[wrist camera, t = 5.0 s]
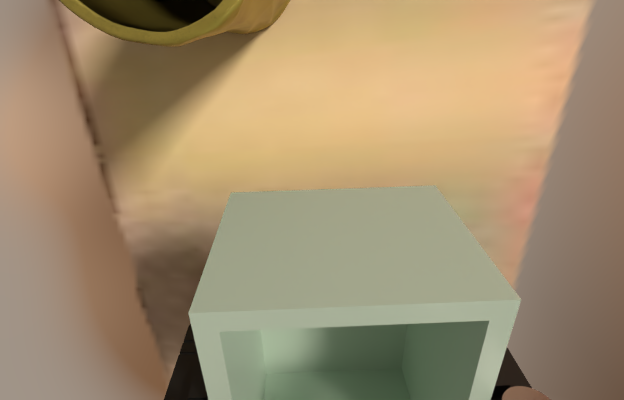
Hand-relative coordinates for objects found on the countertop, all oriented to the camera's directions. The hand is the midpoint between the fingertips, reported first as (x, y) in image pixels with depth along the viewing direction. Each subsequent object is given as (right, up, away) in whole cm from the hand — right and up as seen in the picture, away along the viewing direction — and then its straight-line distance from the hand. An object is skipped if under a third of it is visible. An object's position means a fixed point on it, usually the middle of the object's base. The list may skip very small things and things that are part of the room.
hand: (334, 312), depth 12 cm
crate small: (0, +1, +1) cm, 1 cm away
